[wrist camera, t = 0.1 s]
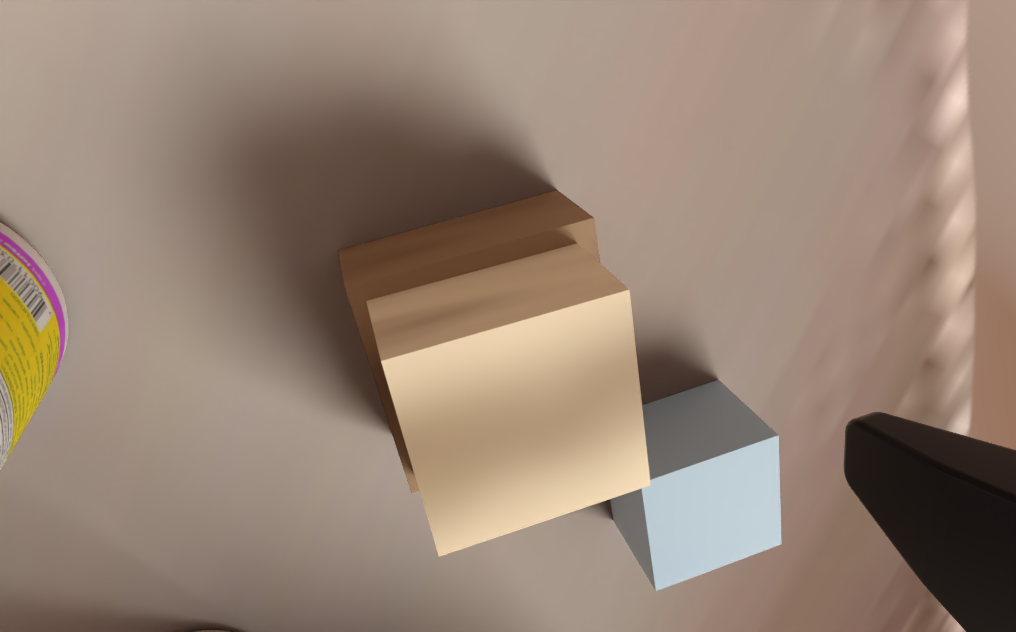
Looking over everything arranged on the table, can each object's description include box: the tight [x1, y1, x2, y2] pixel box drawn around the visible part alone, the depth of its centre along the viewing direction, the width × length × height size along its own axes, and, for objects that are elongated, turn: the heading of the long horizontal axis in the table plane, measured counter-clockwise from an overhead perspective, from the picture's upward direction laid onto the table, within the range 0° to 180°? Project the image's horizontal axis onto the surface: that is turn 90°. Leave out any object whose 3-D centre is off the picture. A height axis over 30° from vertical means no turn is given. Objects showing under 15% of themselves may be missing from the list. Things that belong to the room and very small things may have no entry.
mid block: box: [366, 243, 651, 557], centre depth 20 cm, size 6×6×4 cm
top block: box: [610, 380, 781, 591], centre depth 27 cm, size 5×5×4 cm
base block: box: [338, 190, 600, 493], centre depth 23 cm, size 7×7×4 cm
